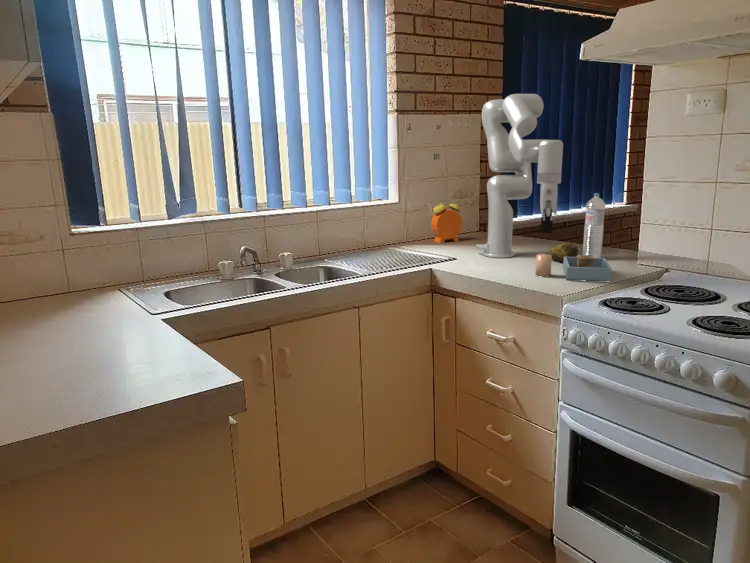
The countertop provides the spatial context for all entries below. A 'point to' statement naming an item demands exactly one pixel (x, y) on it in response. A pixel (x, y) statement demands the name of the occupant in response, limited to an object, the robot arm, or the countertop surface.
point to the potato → (563, 251)
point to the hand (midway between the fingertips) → (546, 230)
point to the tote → (587, 270)
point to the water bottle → (594, 227)
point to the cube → (585, 261)
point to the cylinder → (543, 265)
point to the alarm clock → (446, 223)
